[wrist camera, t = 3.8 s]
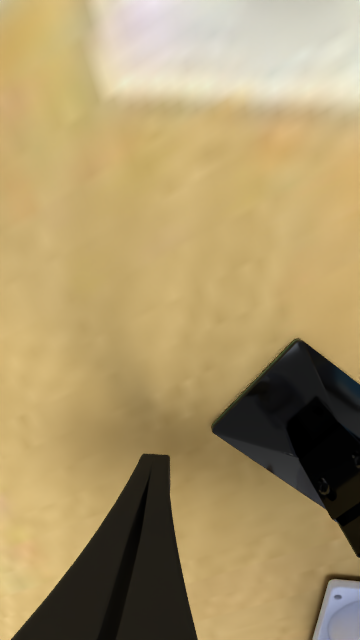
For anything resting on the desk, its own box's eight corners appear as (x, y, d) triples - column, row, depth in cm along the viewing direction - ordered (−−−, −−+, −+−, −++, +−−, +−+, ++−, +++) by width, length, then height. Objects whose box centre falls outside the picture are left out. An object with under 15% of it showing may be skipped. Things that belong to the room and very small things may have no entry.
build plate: (460, 462, 11) (653, 599, 6) (356, 529, 12) (450, 675, 8) (297, 336, 10) (390, 394, 5) (206, 429, 11) (216, 534, 7)
